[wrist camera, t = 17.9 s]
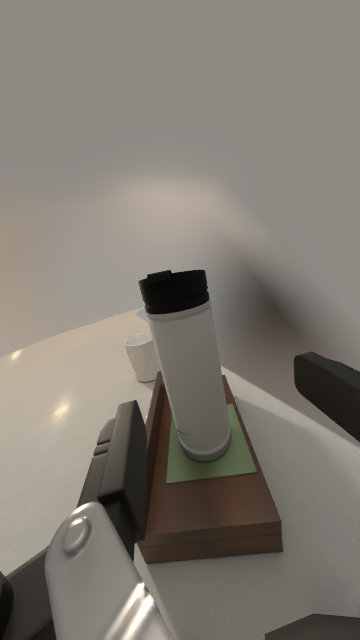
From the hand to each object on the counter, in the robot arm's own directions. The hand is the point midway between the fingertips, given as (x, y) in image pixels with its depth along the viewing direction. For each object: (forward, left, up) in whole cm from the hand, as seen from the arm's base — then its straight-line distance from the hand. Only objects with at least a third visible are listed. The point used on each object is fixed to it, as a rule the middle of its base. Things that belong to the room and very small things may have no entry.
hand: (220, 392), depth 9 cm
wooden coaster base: (+3, -12, -18) cm, 22 cm away
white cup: (+14, -33, -18) cm, 40 cm away
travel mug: (+2, -10, -14) cm, 17 cm away
